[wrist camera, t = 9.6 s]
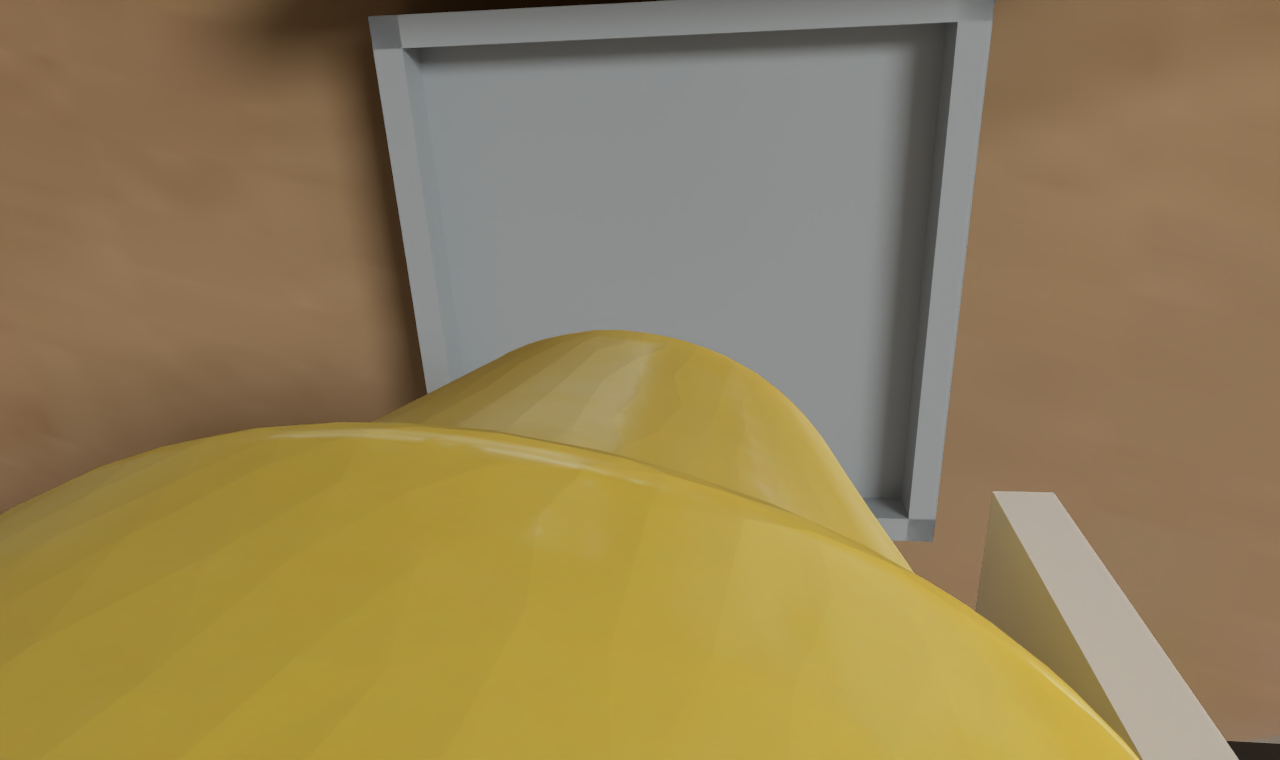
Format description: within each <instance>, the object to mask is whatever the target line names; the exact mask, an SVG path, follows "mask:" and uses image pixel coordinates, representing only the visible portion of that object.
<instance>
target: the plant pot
mask: <svg viewBox="0 0 1280 760" xmlns="http://www.w3.org/2000/svg"><path fill="white" fill-rule="evenodd" d="M0 760H1140V759H1139V758H1138V757H1137V755H1136V754H1135V753H1134V752H1133V751H1132V750H1131V748H1130V747H1129V746H1128V745H1127V744H1126V743H1125V741H1124V740H1123V739H1122V738H1121V737H1120V736H1119V735H1118V734H1117V733H1116V732H1115V731H1114V730H1113V729H1112V728H1111V727H1110V726H1109V725H1108V724H1107V723H1106V722H1105V721H1104V720H1103V719H1102V718H1101V717H1100V716H1099V715H1098V714H1097V713H1096V712H1095V711H1094V710H1093V709H1092V708H1091V707H1090V706H1089V705H1088V704H1087V703H1086V702H1085V701H1084V700H1083V699H1082V698H1081V697H1080V696H1079V695H1078V694H1077V693H1076V692H1075V691H1074V690H1073V689H1072V688H1071V687H1070V686H1069V685H1068V684H1067V683H1065V682H1064V681H1063V680H1062V679H1061V678H1060V677H1059V676H1058V675H1057V674H1055V673H1054V672H1053V671H1052V670H1051V669H1050V668H1049V667H1048V666H1046V665H1045V664H1044V663H1043V662H1041V661H1040V660H1039V659H1038V658H1036V657H1035V656H1034V655H1032V654H1031V653H1030V652H1029V651H1027V650H1026V649H1025V648H1023V647H1022V646H1021V645H1020V644H1018V643H1017V642H1016V641H1015V640H1013V639H1012V638H1011V637H1009V636H1008V635H1007V634H1006V633H1004V632H1003V631H1002V630H1000V629H999V628H998V627H997V626H995V625H994V624H993V623H992V622H990V621H989V620H987V619H986V618H984V617H983V616H981V615H980V614H978V613H977V612H975V611H974V610H972V609H971V608H969V607H968V606H967V605H965V604H964V603H962V602H960V601H959V600H957V599H956V598H954V597H952V596H951V595H949V594H948V593H946V592H944V591H943V590H941V589H940V588H938V587H936V586H935V585H933V584H932V583H930V582H928V581H927V580H925V579H923V578H921V577H920V576H918V575H916V574H914V572H913V571H912V569H911V568H910V566H909V565H908V563H907V562H906V561H905V559H904V558H903V556H902V555H901V553H900V552H899V550H898V549H897V548H896V546H895V545H894V543H893V542H892V540H891V539H890V537H889V536H888V535H887V533H886V532H885V530H884V529H883V527H882V526H881V525H880V523H879V522H878V520H877V519H876V517H875V516H874V515H873V513H872V512H871V510H870V509H869V507H868V506H867V504H866V503H865V501H864V500H863V498H862V497H861V495H860V494H859V492H858V491H857V489H856V488H855V486H854V485H853V483H852V482H851V480H850V479H849V477H848V476H847V474H846V473H845V471H844V470H843V468H842V467H841V465H840V464H839V462H838V460H837V459H836V457H835V456H834V454H833V453H832V451H831V450H830V448H829V447H828V445H827V444H826V442H825V441H824V439H823V438H822V436H821V435H820V433H819V432H818V431H817V430H816V428H815V427H814V426H813V425H812V423H811V422H810V421H809V420H808V419H807V417H806V416H805V415H804V414H803V413H802V412H801V411H800V410H799V409H798V408H797V407H796V406H795V405H794V404H793V403H792V402H791V401H790V400H789V399H788V398H787V397H786V396H785V395H784V394H783V393H781V392H780V391H779V390H778V389H777V388H776V387H774V386H773V385H772V384H770V383H769V382H768V381H766V380H765V379H764V378H762V377H761V376H760V375H758V374H757V373H756V372H754V371H752V370H750V369H749V368H747V367H745V366H743V365H741V364H740V363H738V362H736V361H734V360H732V359H731V358H729V357H727V356H725V355H722V354H720V353H717V352H715V351H712V350H710V349H707V348H705V347H702V346H699V345H696V344H693V343H690V342H687V341H683V340H680V339H675V338H671V337H667V336H661V335H656V334H650V333H644V332H635V331H626V330H592V331H585V332H578V333H572V334H565V335H561V336H556V337H552V338H547V339H543V340H539V341H536V342H533V343H530V344H527V345H525V346H522V347H520V348H517V349H515V350H513V351H510V352H508V353H506V354H505V355H503V356H501V357H500V358H498V359H496V360H494V361H492V362H490V363H488V364H486V365H484V366H482V367H480V368H478V369H476V370H474V371H472V372H470V373H468V374H466V375H464V376H462V377H460V378H458V379H456V380H454V381H452V382H450V383H448V384H446V385H444V386H442V387H440V388H438V389H436V390H434V391H432V392H431V393H429V394H427V395H425V396H423V397H421V398H419V399H417V400H415V401H413V402H411V403H409V404H407V405H405V406H403V407H401V408H398V409H396V410H394V411H392V412H390V413H388V414H386V415H384V416H382V417H380V418H378V419H375V420H373V421H371V422H335V423H320V424H306V425H292V426H277V427H263V428H252V429H247V430H241V431H236V432H231V433H225V434H220V435H215V436H209V437H204V438H199V439H195V440H190V441H186V442H181V443H177V444H172V445H168V446H163V447H159V448H156V449H153V450H150V451H147V452H144V453H141V454H137V455H134V456H131V457H128V458H125V459H122V460H119V461H116V462H113V463H110V464H107V465H104V466H100V467H97V468H95V469H93V470H91V471H89V472H87V473H85V474H83V475H81V476H78V477H76V478H74V479H72V480H70V481H68V482H66V483H64V484H62V485H59V486H57V487H55V488H53V489H51V490H49V491H47V492H45V493H43V494H40V495H38V496H36V497H34V498H32V499H30V500H28V501H26V502H24V503H21V504H19V505H17V506H15V507H13V508H11V509H10V510H8V511H6V512H4V513H2V514H1V515H0Z"/></svg>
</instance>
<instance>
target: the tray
mask: <svg viewBox="0 0 1280 760" xmlns="http://www.w3.org/2000/svg"><path fill="white" fill-rule="evenodd" d="M994 4H995V0H669V1H650V2H631V3H612V4H593V5H574V6H555V7H536V8H517V9H498V10H479V11H461V12H442V13H423V14H404V15H385V16H368V21H369V28H370V34H371V40H372V47H373V53H374V59H375V66H376V72H377V78H378V85H379V91H380V97H381V104H382V110H383V116H384V123H385V129H386V135H387V142H388V148H389V154H390V161H391V167H392V173H393V180H394V186H395V192H396V199H397V205H398V211H399V218H400V224H401V230H402V237H403V243H404V249H405V256H406V262H407V268H408V275H409V281H410V287H411V294H412V300H413V306H414V313H415V319H416V326H417V332H418V338H419V345H420V351H421V357H422V364H423V370H424V376H425V383H426V389H427V394H429V393H431V392H432V391H434V390H436V389H438V388H440V387H442V386H444V385H446V384H448V383H450V382H452V381H454V380H456V379H458V378H460V377H462V376H464V375H466V374H468V373H470V372H472V371H474V370H476V369H478V368H480V367H482V366H484V365H486V364H488V363H490V362H492V361H494V360H496V359H498V358H500V357H501V356H503V355H505V354H506V353H508V352H510V351H513V350H515V349H517V348H520V347H522V346H525V345H527V344H530V343H533V342H536V341H539V340H543V339H547V338H552V337H556V336H561V335H565V334H572V333H578V332H585V331H592V330H626V331H635V332H644V333H650V334H656V335H661V336H667V337H671V338H675V339H680V340H683V341H687V342H690V343H693V344H696V345H699V346H702V347H705V348H707V349H710V350H712V351H715V352H717V353H720V354H722V355H725V356H727V357H729V358H731V359H732V360H734V361H736V362H738V363H740V364H741V365H743V366H745V367H747V368H749V369H750V370H752V371H754V372H756V373H757V374H758V375H760V376H761V377H762V378H764V379H765V380H766V381H768V382H769V383H770V384H772V385H773V386H774V387H776V388H777V389H778V390H779V391H780V392H781V393H783V394H784V395H785V396H786V397H787V398H788V399H789V400H790V401H791V402H792V403H793V404H794V405H795V406H796V407H797V408H798V409H799V410H800V411H801V412H802V413H803V414H804V415H805V416H806V417H807V419H808V420H809V421H810V422H811V423H812V425H813V426H814V427H815V428H816V430H817V431H818V432H819V433H820V435H821V436H822V438H823V439H824V441H825V442H826V444H827V445H828V447H829V448H830V450H831V451H832V453H833V454H834V456H835V457H836V459H837V460H838V462H839V464H840V465H841V467H842V468H843V470H844V471H845V473H846V474H847V476H848V477H849V479H850V480H851V482H852V483H853V485H854V486H855V488H856V489H857V491H858V492H859V494H860V495H861V497H862V498H863V500H864V501H865V503H866V504H867V506H868V507H869V509H870V510H871V512H872V513H873V515H874V516H875V517H876V519H877V520H878V522H879V523H880V525H881V526H882V527H883V529H884V530H885V532H886V533H887V535H888V536H889V537H890V539H891V540H892V541H926V542H933V536H934V528H935V519H936V510H937V501H938V493H939V484H940V475H941V467H942V458H943V449H944V440H945V432H946V423H947V414H948V406H949V397H950V388H951V379H952V371H953V362H954V353H955V344H956V336H957V327H958V318H959V310H960V301H961V292H962V283H963V275H964V266H965V257H966V248H967V240H968V231H969V222H970V214H971V205H972V196H973V187H974V179H975V170H976V161H977V152H978V144H979V135H980V126H981V118H982V109H983V100H984V91H985V83H986V74H987V65H988V56H989V48H990V39H991V30H992V22H993V13H994Z"/></svg>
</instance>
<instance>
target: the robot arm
mask: <svg viewBox="0 0 1280 760" xmlns="http://www.w3.org/2000/svg"><path fill="white" fill-rule="evenodd" d="M975 612H977V613H978V614H980V615H981V616H983V617H984V618H986V619H987V620H989V621H990V622H992V623H993V624H994V625H995V626H997V627H998V628H999V629H1000V630H1002V631H1003V632H1004V633H1006V634H1007V635H1008V636H1009V637H1011V638H1012V639H1013V640H1015V641H1016V642H1017V643H1018V644H1020V645H1021V646H1022V647H1023V648H1025V649H1026V650H1027V651H1029V652H1030V653H1031V654H1032V655H1034V656H1035V657H1036V658H1038V659H1039V660H1040V661H1041V662H1043V663H1044V664H1045V665H1046V666H1048V667H1049V668H1050V669H1051V670H1052V671H1053V672H1054V673H1055V674H1057V675H1058V676H1059V677H1060V678H1061V679H1062V680H1063V681H1064V682H1065V683H1067V684H1068V685H1069V686H1070V687H1071V688H1072V689H1073V690H1074V691H1075V692H1076V693H1077V694H1078V695H1079V696H1080V697H1081V698H1082V699H1083V700H1084V701H1085V702H1086V703H1087V704H1088V705H1089V706H1090V707H1091V708H1092V709H1093V710H1094V711H1095V712H1096V713H1097V714H1098V715H1099V716H1100V717H1101V718H1102V719H1103V720H1104V721H1105V722H1106V723H1107V724H1108V725H1109V726H1110V727H1111V728H1112V729H1113V730H1114V731H1115V732H1116V733H1117V734H1118V735H1119V736H1120V737H1121V738H1122V739H1123V740H1124V741H1125V743H1126V744H1127V745H1128V746H1129V747H1130V748H1131V750H1132V751H1133V752H1134V753H1135V754H1136V755H1137V757H1138V758H1139V759H1140V760H1280V744H1270V743H1269V744H1268V743H1253V742H1234V741H1226V740H1225V739H1224V737H1223V736H1222V734H1221V733H1220V732H1219V730H1218V729H1217V727H1216V726H1215V724H1214V723H1213V721H1212V720H1211V719H1210V717H1209V716H1208V714H1207V713H1206V711H1205V710H1204V708H1203V707H1202V706H1201V704H1200V703H1199V701H1198V700H1197V698H1196V697H1195V696H1194V694H1193V693H1192V691H1191V690H1190V688H1189V687H1188V685H1187V684H1186V683H1185V681H1184V680H1183V678H1182V677H1181V675H1180V674H1179V672H1178V671H1177V670H1176V668H1175V667H1174V665H1173V664H1172V662H1171V661H1170V659H1169V658H1168V657H1167V655H1166V654H1165V652H1164V651H1163V649H1162V648H1161V647H1160V645H1159V644H1158V642H1157V641H1156V639H1155V638H1154V636H1153V635H1152V634H1151V632H1150V631H1149V629H1148V628H1147V626H1146V625H1145V623H1144V622H1143V621H1142V619H1141V618H1140V616H1139V615H1138V613H1137V612H1136V610H1135V609H1134V608H1133V606H1132V605H1131V603H1130V602H1129V600H1128V599H1127V597H1126V596H1125V595H1124V593H1123V592H1122V590H1121V589H1120V587H1119V586H1118V585H1117V583H1116V582H1115V580H1114V579H1113V577H1112V576H1111V574H1110V573H1109V572H1108V570H1107V569H1106V567H1105V566H1104V564H1103V563H1102V561H1101V560H1100V559H1099V557H1098V556H1097V554H1096V553H1095V551H1094V550H1093V548H1092V547H1091V546H1090V544H1089V543H1088V541H1087V540H1086V538H1085V537H1084V536H1083V534H1082V533H1081V531H1080V530H1079V528H1078V527H1077V525H1076V524H1075V523H1074V521H1073V520H1072V518H1071V517H1070V515H1069V514H1068V512H1067V511H1066V510H1065V508H1064V507H1063V505H1062V504H1061V502H1060V501H1059V499H1058V498H1057V497H1056V495H1055V494H1054V493H1053V492H1004V491H992V498H991V505H990V512H989V519H988V526H987V533H986V540H985V547H984V554H983V561H982V568H981V575H980V582H979V589H978V596H977V603H976V610H975Z"/></svg>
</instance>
